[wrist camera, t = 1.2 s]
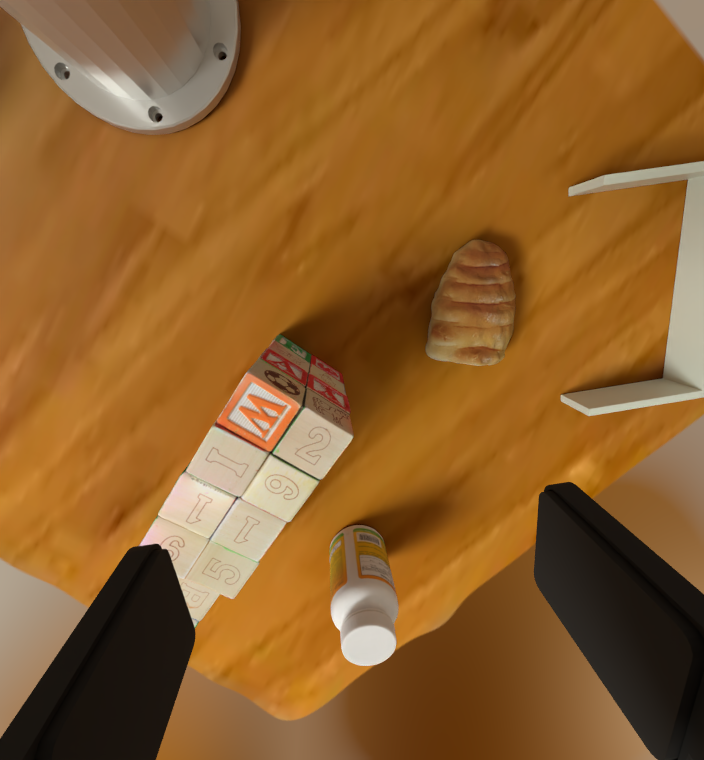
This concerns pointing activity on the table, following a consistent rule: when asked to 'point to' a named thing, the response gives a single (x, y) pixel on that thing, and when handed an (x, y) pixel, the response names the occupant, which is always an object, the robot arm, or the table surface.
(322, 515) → the table surface
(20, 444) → the table surface
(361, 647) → the supplement bottle
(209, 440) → the stack of blocks
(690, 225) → the frame
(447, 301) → the pastry
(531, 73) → the table surface
